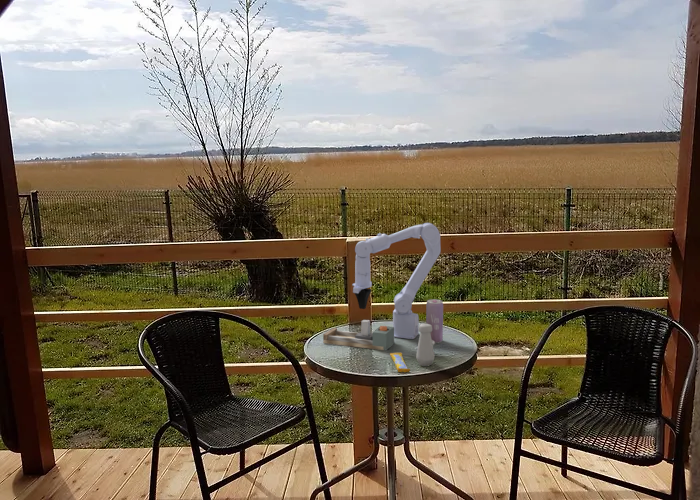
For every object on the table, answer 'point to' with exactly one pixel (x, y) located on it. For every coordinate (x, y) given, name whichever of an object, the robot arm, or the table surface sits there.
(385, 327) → the button
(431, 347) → the salt shaker
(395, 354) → the candy bar
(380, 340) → the end cabinet
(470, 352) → the table surface
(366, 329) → the carriage
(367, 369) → the table surface
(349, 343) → the rail track
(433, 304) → the beverage can
